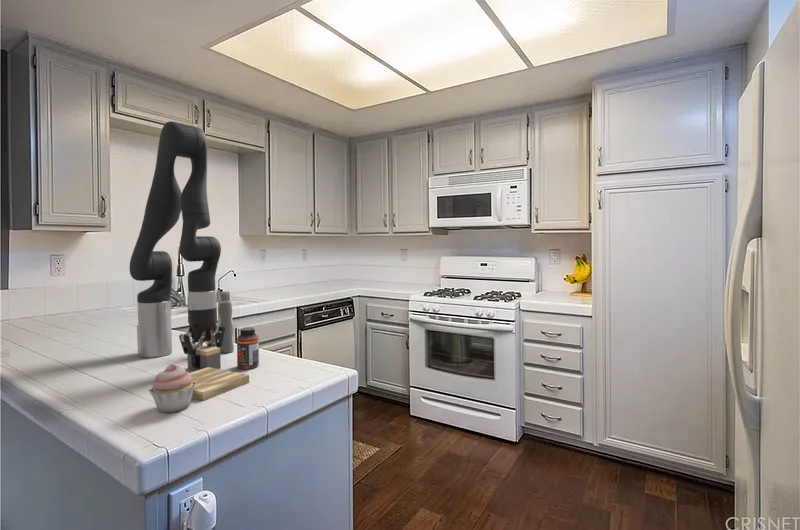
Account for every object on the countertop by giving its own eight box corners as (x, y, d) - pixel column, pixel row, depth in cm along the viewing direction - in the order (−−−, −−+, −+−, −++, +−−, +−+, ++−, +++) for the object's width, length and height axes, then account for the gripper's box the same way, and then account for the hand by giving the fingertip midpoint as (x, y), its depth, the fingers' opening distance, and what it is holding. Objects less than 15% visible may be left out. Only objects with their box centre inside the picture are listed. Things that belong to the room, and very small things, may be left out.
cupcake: (140, 417, 89) (138, 370, 88) (162, 400, 98) (161, 357, 97) (186, 416, 89) (184, 369, 88) (204, 399, 98) (203, 357, 98)
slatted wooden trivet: (160, 390, 104) (160, 382, 104) (208, 374, 117) (208, 367, 116) (203, 400, 97) (203, 392, 97) (249, 382, 110) (249, 374, 110)
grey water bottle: (232, 349, 143) (230, 290, 142) (235, 352, 139) (233, 291, 138) (216, 351, 141) (215, 291, 139) (219, 354, 137) (217, 292, 135)
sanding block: (187, 369, 121) (187, 348, 121) (201, 364, 125) (200, 344, 125) (207, 372, 118) (206, 351, 118) (220, 368, 122) (220, 347, 122)
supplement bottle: (232, 367, 122) (231, 329, 122) (248, 362, 128) (248, 325, 127) (247, 370, 120) (246, 331, 119) (263, 365, 125) (262, 327, 124)
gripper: (213, 302, 129) (215, 357, 130) (170, 309, 116) (172, 370, 117) (231, 303, 125) (233, 360, 126) (189, 311, 112) (191, 374, 113)
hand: (204, 365), depth 122 cm, fingers closed on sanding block, 4 cm apart
